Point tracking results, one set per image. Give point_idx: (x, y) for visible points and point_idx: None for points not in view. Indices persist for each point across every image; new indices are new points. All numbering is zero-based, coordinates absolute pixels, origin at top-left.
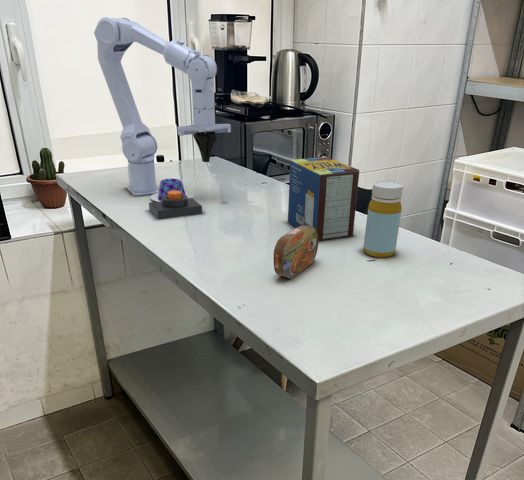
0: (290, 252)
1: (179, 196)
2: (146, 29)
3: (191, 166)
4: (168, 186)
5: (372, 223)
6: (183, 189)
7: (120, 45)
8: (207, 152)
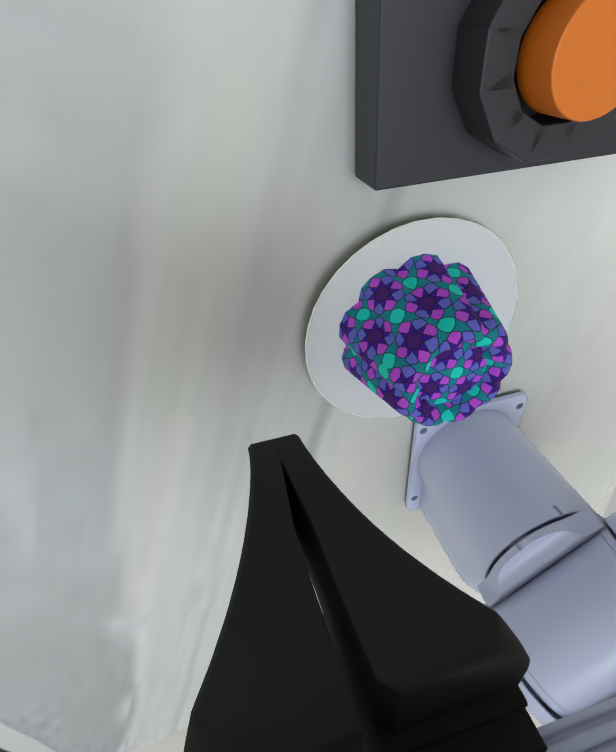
0: None
1: None
2: None
3: (196, 686)
4: (488, 319)
5: None
6: (376, 340)
7: None
8: (290, 513)
